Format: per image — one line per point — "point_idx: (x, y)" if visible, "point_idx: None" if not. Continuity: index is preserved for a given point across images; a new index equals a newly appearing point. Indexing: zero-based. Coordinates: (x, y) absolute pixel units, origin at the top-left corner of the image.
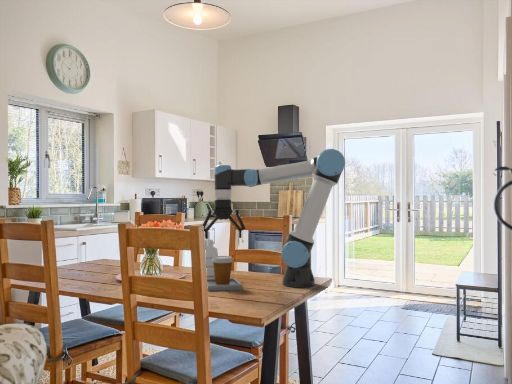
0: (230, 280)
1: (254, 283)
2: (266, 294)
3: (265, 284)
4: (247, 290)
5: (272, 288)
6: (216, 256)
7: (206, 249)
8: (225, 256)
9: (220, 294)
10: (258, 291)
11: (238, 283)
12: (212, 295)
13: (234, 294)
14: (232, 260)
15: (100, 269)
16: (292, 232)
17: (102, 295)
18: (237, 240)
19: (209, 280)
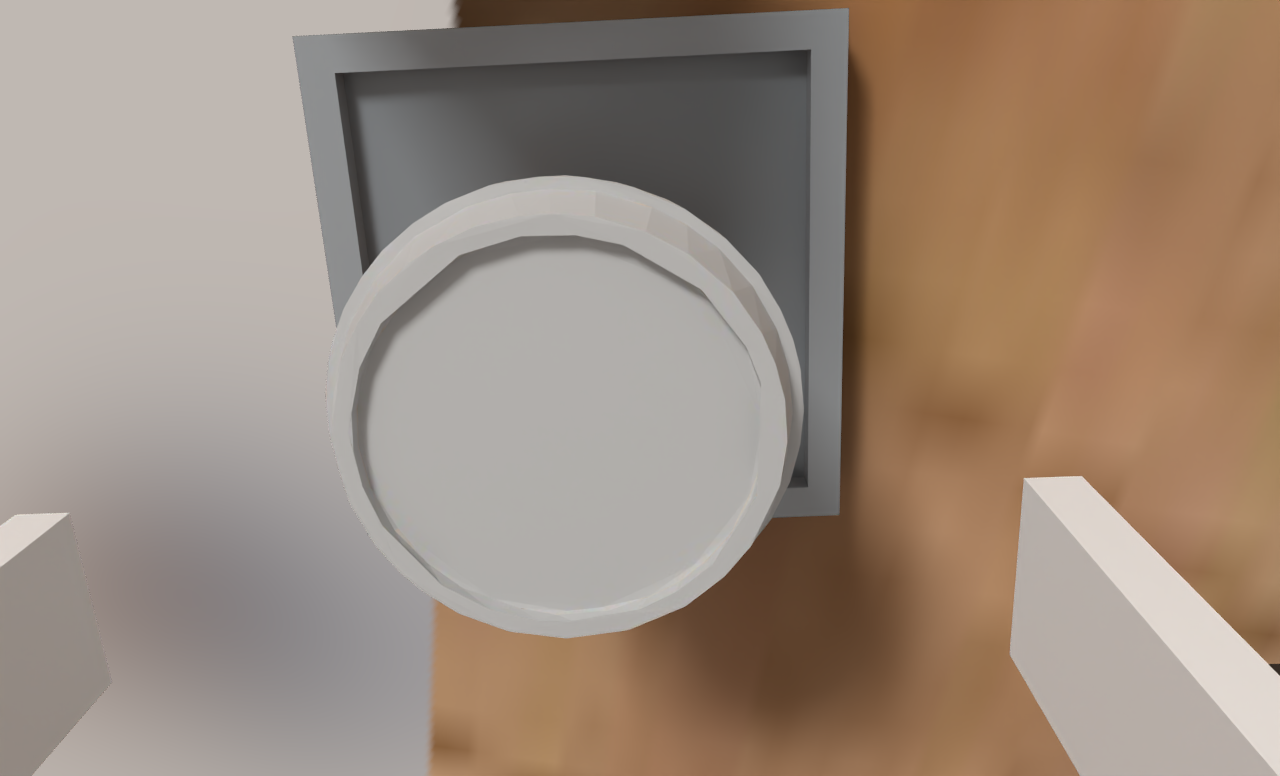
0: (754, 53)
1: (1130, 93)
2: (1043, 756)
3: (1265, 199)
4: (887, 539)
5: (1245, 477)
6: (416, 284)
7: None
8: (653, 256)
9: (528, 685)
10: (1004, 609)
11: (808, 446)
12: (434, 715)
13: (687, 707)
14: (771, 517)
15: None
16: None
17: None
18: (1075, 732)
19: (395, 71)
